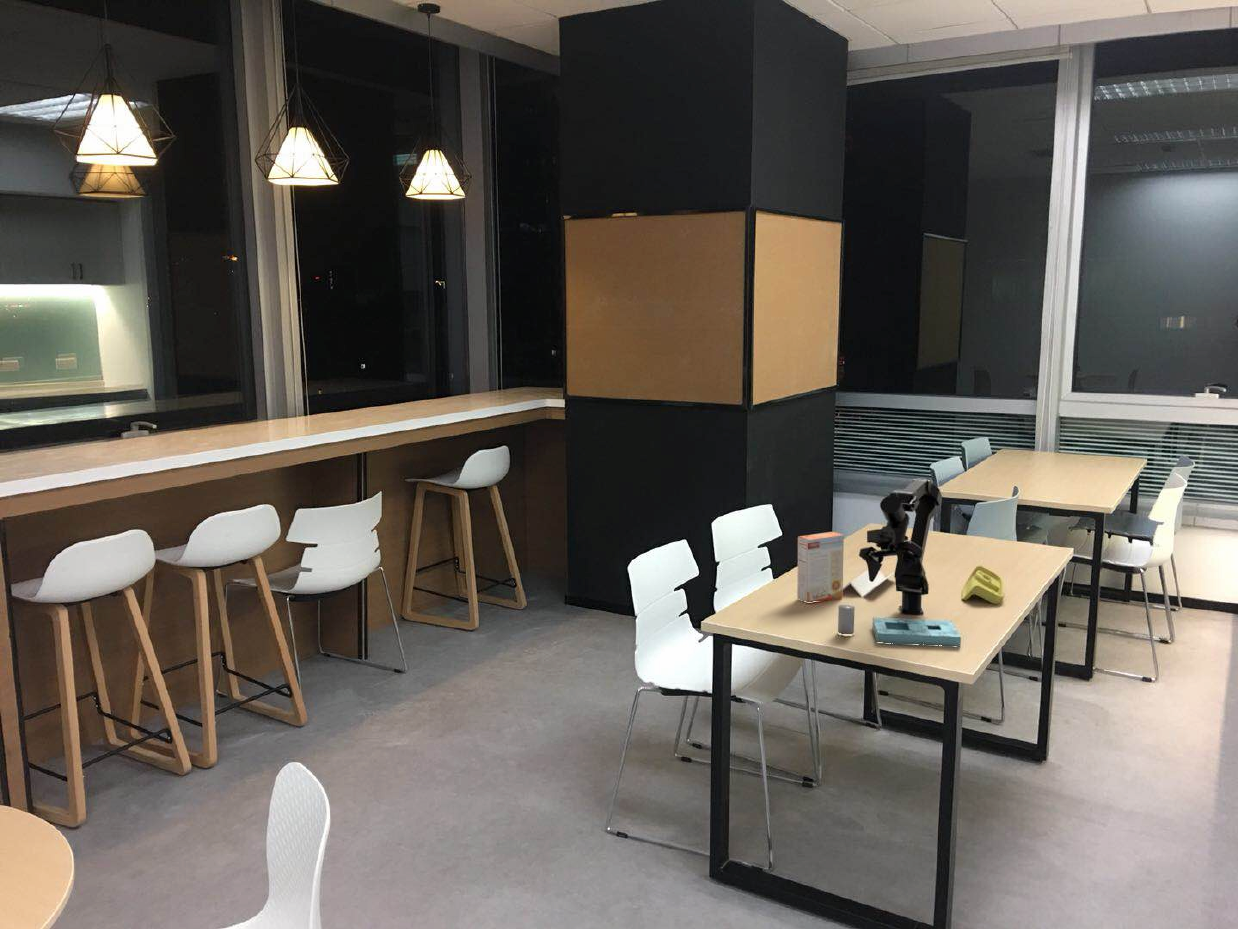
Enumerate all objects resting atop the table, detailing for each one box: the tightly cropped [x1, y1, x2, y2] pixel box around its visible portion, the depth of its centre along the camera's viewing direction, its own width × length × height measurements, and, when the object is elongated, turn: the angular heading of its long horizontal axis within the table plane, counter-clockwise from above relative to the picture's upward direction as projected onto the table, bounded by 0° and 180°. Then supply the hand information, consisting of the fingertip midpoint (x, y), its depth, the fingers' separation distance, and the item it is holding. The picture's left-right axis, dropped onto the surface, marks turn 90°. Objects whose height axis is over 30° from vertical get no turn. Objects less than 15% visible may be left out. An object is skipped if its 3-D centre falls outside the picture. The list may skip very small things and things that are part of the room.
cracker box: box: [796, 531, 845, 602], centre depth 307 cm, size 14×6×21 cm, turn 115°
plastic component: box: [961, 565, 1004, 605], centre depth 312 cm, size 20×7×10 cm
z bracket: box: [843, 569, 895, 598], centre depth 322 cm, size 12×25×6 cm
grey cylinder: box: [837, 604, 856, 634], centre depth 275 cm, size 4×4×8 cm
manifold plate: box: [872, 616, 962, 648], centre depth 273 cm, size 14×22×3 cm, turn 81°
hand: (883, 580), depth 269 cm, fingers open, 9 cm apart
